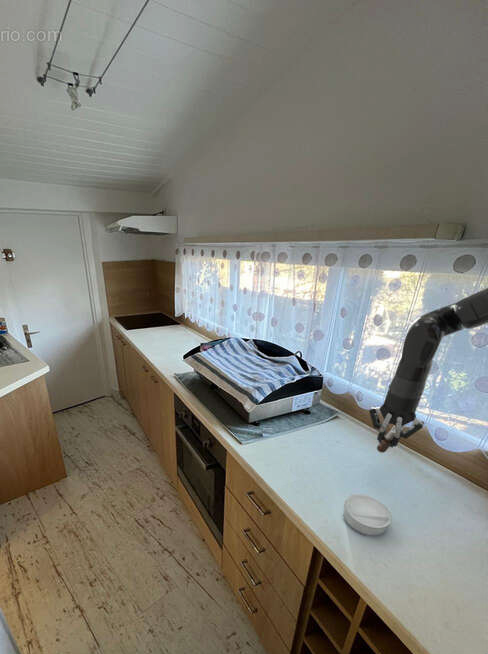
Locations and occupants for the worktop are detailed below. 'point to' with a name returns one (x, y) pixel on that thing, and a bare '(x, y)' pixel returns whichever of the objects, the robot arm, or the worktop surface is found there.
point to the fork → (386, 441)
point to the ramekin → (366, 514)
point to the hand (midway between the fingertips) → (386, 443)
